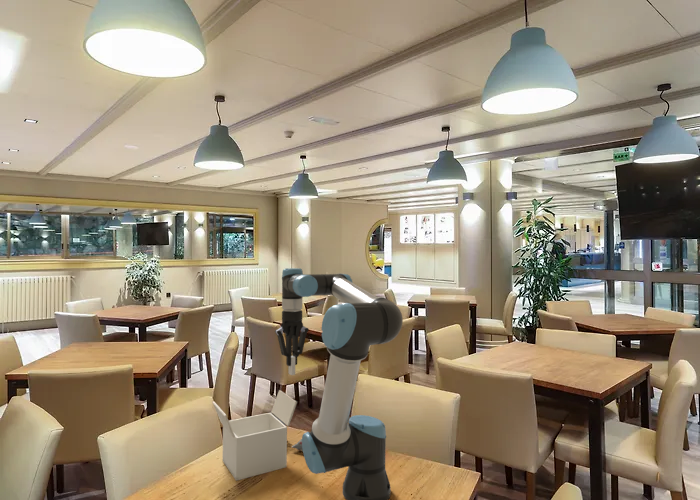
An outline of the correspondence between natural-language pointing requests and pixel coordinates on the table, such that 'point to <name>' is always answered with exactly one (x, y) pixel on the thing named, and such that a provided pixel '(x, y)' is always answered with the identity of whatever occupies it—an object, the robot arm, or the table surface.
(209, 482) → the table surface
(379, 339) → the robot arm
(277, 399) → the flap right
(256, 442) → the carton
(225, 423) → the flap left
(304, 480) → the table surface
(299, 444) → the packaged food
